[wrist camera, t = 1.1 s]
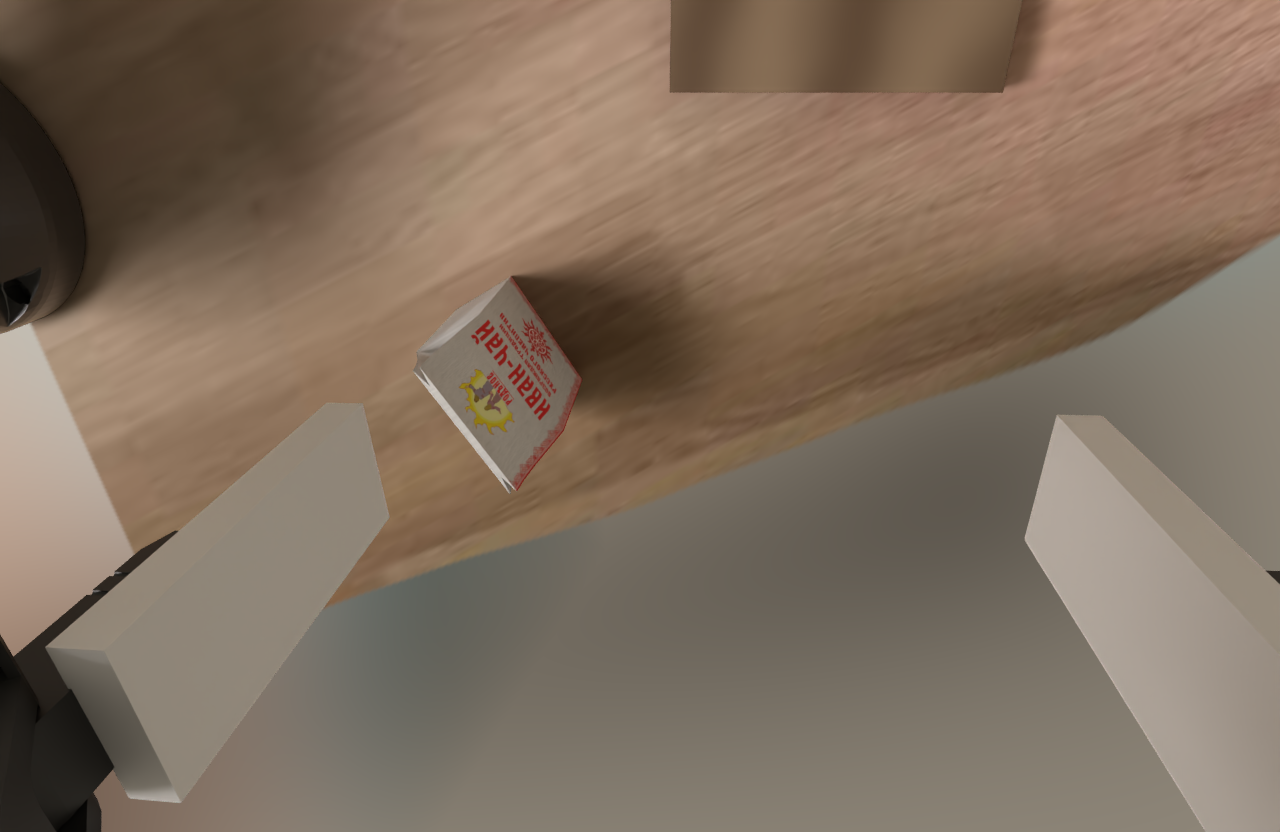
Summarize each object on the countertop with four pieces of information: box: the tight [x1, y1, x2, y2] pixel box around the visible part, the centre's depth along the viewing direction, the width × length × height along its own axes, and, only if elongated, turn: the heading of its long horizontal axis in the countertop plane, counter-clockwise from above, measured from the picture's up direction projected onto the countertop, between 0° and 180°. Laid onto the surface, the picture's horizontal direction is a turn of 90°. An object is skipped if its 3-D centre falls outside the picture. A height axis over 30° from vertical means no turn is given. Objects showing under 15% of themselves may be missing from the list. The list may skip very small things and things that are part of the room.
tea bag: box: [413, 276, 582, 494], centre depth 34 cm, size 4×7×10 cm, turn 31°
